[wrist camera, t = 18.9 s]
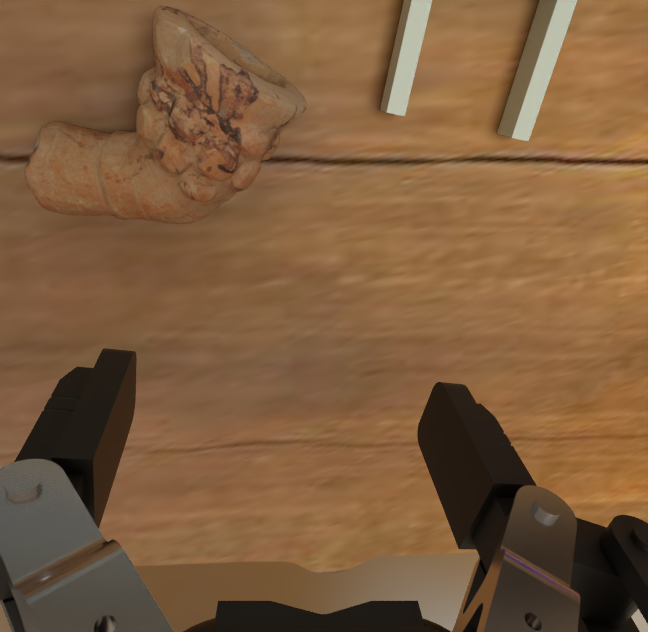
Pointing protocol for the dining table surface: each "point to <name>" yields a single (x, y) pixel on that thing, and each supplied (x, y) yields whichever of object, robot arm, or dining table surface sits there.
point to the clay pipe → (171, 133)
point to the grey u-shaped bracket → (529, 77)
